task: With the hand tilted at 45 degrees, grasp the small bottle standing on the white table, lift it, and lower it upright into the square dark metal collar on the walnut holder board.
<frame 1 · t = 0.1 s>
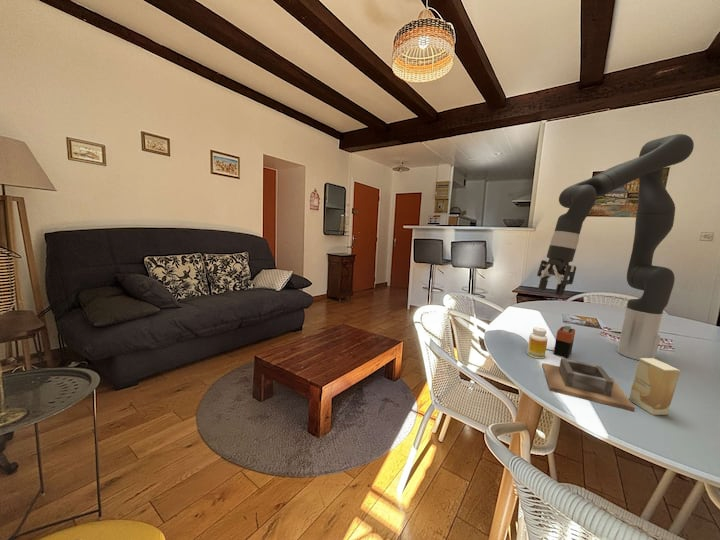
hand: (549, 292, 100), 22 cm above the table, tool pointing down, fingers open, 8 cm apart
supplement bottle: (535, 355, 102), on the table
battery: (562, 354, 104), on the table
skincare box: (647, 408, 74), on the table
walnut holder board: (582, 385, 83), on the table
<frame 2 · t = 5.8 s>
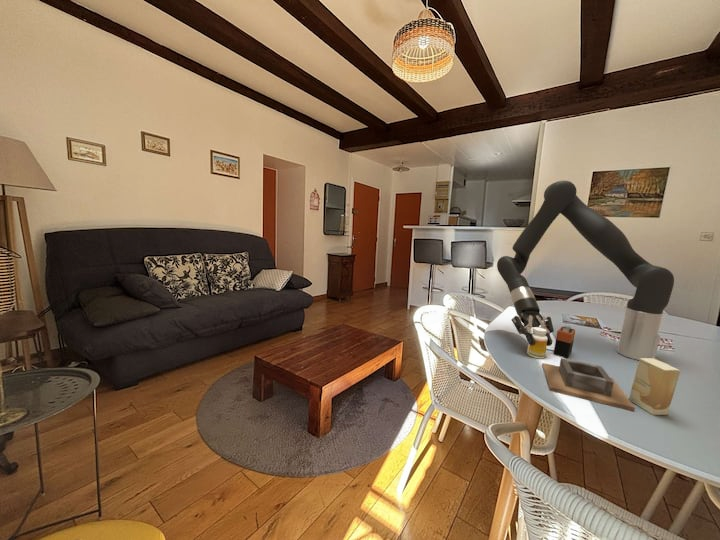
hand: (541, 344, 99), 5 cm above the table, tool tilted 45°, fingers closed on supplement bottle, 5 cm apart
supplement bottle: (535, 355, 102), on the table, touching gripper
everything else where it was.
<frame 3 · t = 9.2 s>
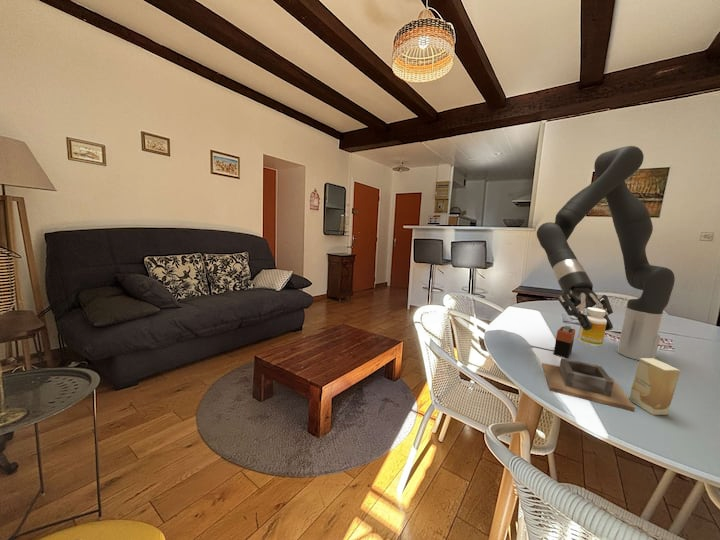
hand: (598, 329, 79), 18 cm above the table, tool tilted 45°, fingers closed on supplement bottle, 5 cm apart
supplement bottle: (589, 343, 81), point 13 cm above the table, touching gripper
everything else where it was.
when the fingers open (7 cm above the table, at t = 12.4 s): supplement bottle drops 1 cm, resting on walnut holder board.
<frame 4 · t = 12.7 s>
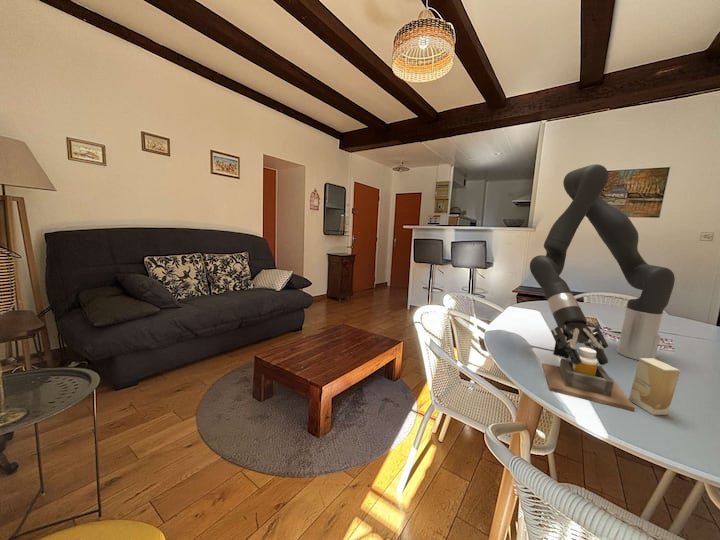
hand: (591, 363, 80), 8 cm above the table, tool tilted 45°, fingers open, 7 cm apart
supplement bottle: (581, 382, 83), point 1 cm above the table, touching walnut holder board
everything else where it was.
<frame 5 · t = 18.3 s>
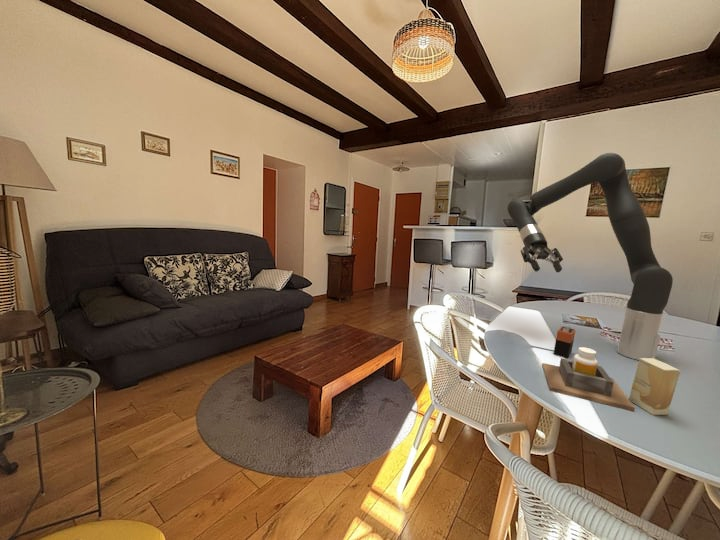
hand: (548, 270, 108), 29 cm above the table, tool tilted 45°, fingers open, 8 cm apart
nothing on the table moved.
at the end: supplement bottle 0.2 cm off-centre on the walnut holder board, point 0.8 cm above the walnut holder board's base; supplement bottle tilted 0°; the gripper is holding nothing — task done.
